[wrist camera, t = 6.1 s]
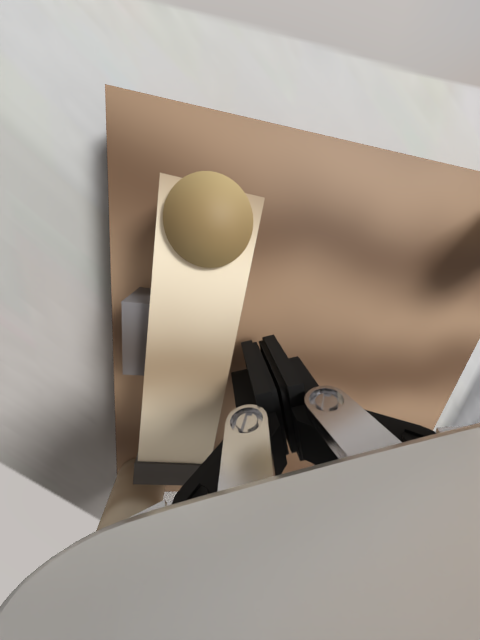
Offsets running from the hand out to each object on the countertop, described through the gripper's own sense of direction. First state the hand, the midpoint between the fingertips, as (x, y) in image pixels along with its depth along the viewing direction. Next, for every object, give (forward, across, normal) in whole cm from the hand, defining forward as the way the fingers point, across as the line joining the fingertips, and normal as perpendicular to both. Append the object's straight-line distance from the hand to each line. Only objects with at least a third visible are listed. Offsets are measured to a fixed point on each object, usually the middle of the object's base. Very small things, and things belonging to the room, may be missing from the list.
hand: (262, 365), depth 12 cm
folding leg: (+1, +3, -2) cm, 4 cm away
